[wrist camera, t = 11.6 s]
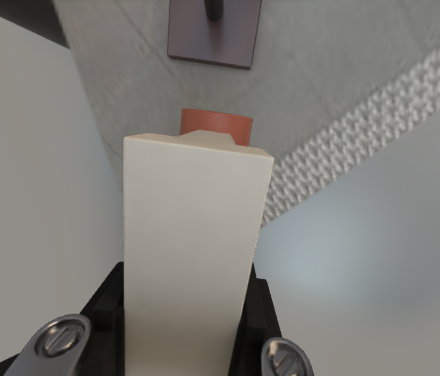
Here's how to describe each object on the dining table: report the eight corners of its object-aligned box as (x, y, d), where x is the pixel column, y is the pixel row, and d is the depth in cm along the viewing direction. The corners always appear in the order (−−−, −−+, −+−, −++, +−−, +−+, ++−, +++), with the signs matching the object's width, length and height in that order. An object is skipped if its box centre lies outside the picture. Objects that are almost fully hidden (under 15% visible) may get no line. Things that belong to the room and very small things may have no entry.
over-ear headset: (174, 271, 19) (108, 473, 8) (188, 110, 15) (89, 78, 4) (222, 277, 19) (220, 484, 8) (248, 119, 15) (317, 110, 4)
